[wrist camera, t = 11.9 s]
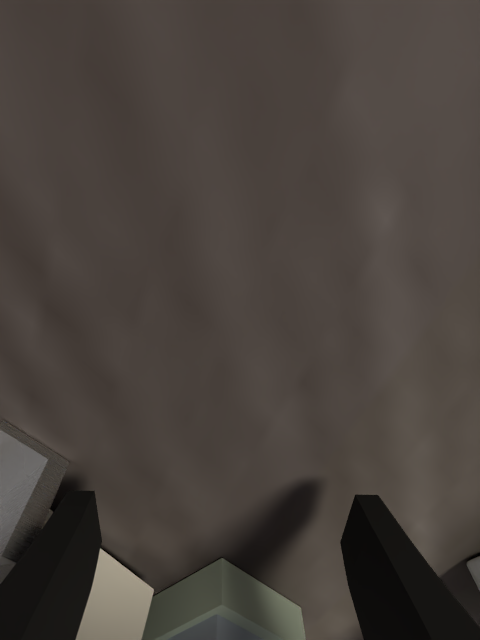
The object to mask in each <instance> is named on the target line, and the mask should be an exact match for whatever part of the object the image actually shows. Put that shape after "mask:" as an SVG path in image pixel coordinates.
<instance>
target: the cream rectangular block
mask: <svg viewBox="0 0 480 640" xmlns="http://www.w3.org/2000/svg"><path fill="white" fill-rule="evenodd" d="M52 514H53V511H52V510H50V509H49V512H48V514H47V517H46V519H45V521H44V524H43V526H42V528H43V527H44V525H45V524H46V522H47V521H48V519H49V518H50V517H51V515H52ZM42 528H41V529H42ZM153 592H154V589H153V588H151V587H150V586H149V585H148V584H146V583H145V582H144V581H142V580H141V579H140V578H138V577H137V576H136V575H135V574H133V573H132V572H131V571H129V570H128V569H127V568H125V567H124V566H123V565H122V564H120V563H119V562H118V561H116V560H115V559H114V558H113V557H111V556H110V555H109V554H107V553H106V552H105V551H103V550H102V549H101V548H100V552H99V557H98V562H97V567H96V571H95V576H94V580H93V585H92V588H91V592H90V595H89V598H88V602H87V605H86V608H85V611H84V614H83V618H82V621H81V624H80V627H79V630H78V634H77V637H76V640H141V639H142V635H143V631H144V627H145V624H146V620H147V616H148V612H149V608H150V604H151V600H152V596H153Z"/></svg>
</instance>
